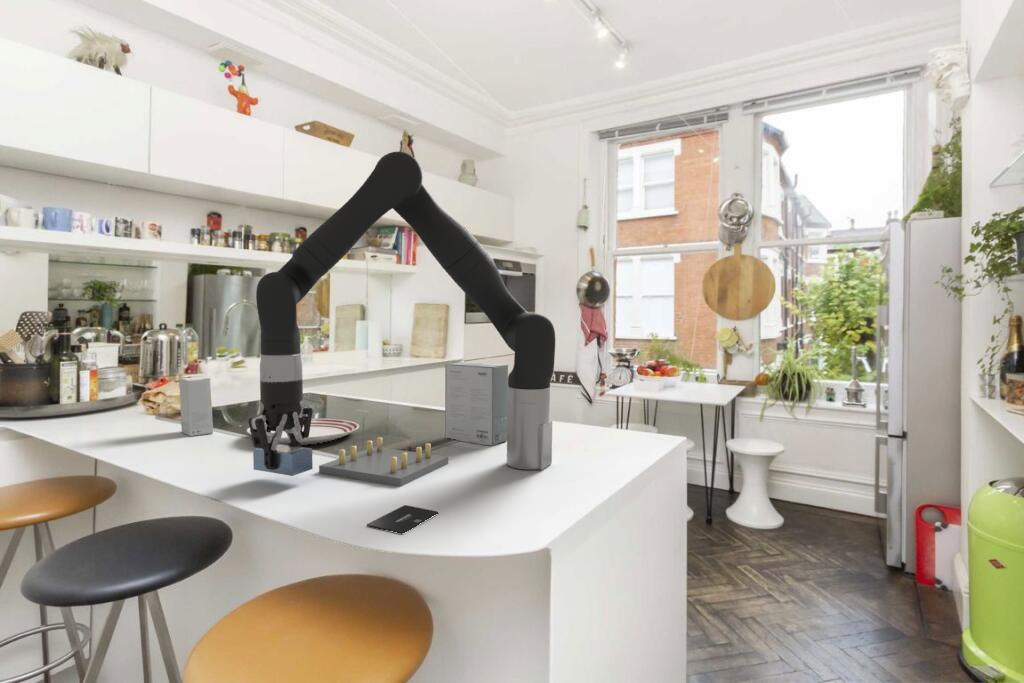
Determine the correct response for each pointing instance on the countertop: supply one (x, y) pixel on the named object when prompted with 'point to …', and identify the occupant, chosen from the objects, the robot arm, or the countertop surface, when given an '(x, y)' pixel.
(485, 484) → the countertop surface
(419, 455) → the grey peg board
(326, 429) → the dinner plate
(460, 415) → the hard drive box
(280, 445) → the blue block
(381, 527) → the solid state drive
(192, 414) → the skincare box
